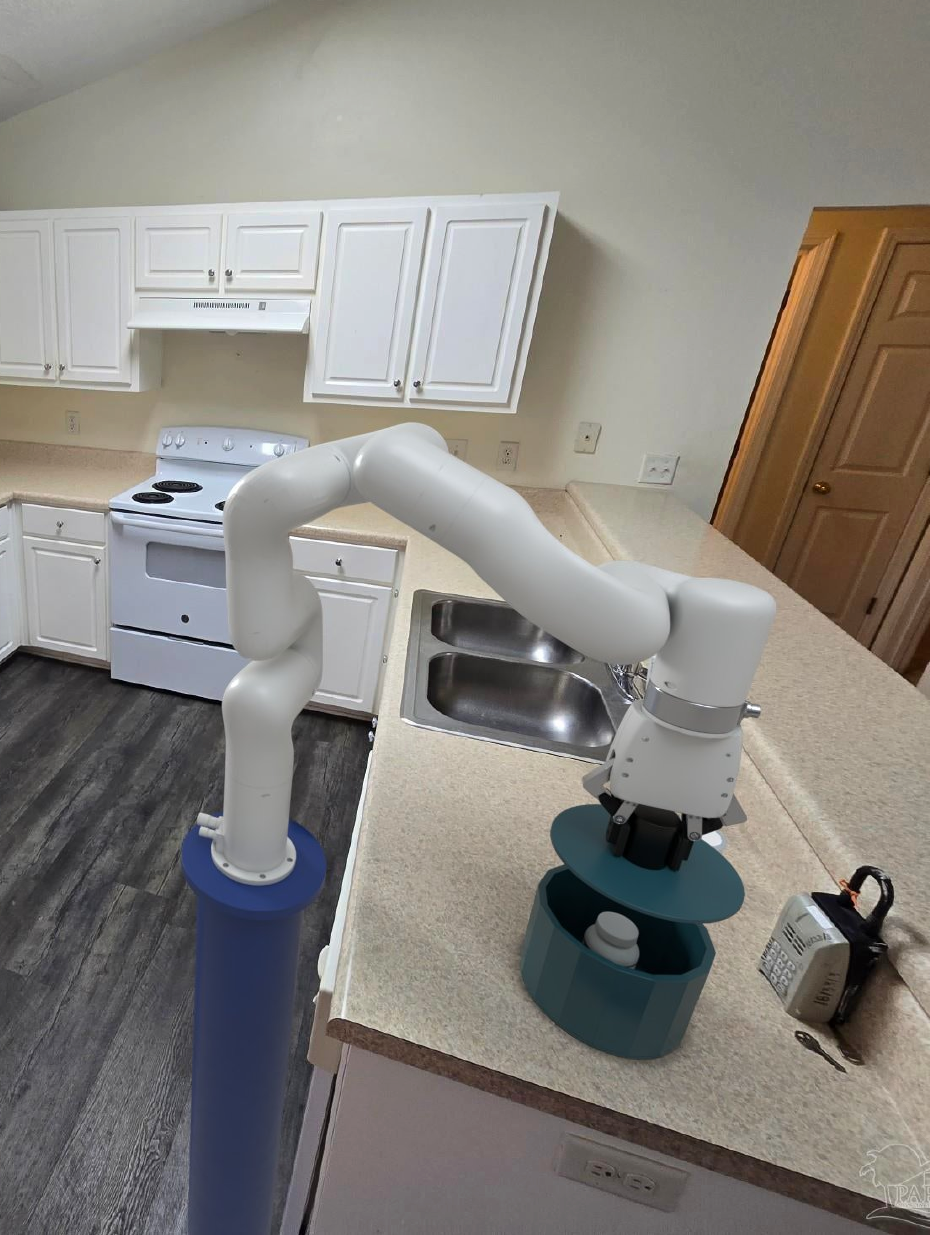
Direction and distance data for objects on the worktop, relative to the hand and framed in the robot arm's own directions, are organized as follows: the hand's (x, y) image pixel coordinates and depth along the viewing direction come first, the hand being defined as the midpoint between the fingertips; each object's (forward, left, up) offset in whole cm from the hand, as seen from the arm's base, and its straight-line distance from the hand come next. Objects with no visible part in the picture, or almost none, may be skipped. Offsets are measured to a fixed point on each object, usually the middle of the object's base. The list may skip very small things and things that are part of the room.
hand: (643, 853), depth 74 cm
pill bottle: (0, 0, -20) cm, 20 cm away
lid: (0, 0, -1) cm, 1 cm away
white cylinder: (+14, +27, -20) cm, 37 cm away
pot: (0, 0, -20) cm, 20 cm away
